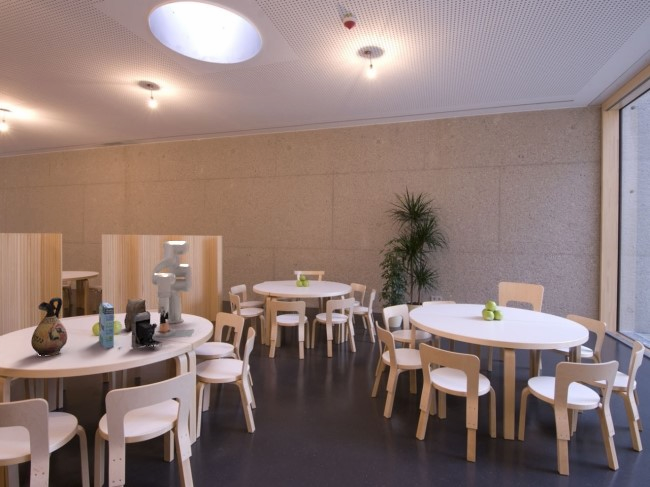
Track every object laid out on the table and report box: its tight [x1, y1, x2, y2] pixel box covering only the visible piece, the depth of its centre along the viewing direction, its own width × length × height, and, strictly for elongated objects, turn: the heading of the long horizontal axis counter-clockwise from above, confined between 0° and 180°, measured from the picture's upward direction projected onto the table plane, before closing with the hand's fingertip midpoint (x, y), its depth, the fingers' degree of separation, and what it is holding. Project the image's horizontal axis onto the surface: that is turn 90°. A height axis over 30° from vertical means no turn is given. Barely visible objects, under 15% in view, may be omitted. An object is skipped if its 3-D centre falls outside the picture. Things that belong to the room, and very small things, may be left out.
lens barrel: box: [153, 328, 177, 337], centre depth 230 cm, size 13×13×2 cm
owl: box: [124, 298, 147, 333], centre depth 249 cm, size 13×13×20 cm
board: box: [152, 328, 195, 340], centre depth 231 cm, size 18×24×2 cm
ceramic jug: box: [30, 296, 68, 357], centre depth 196 cm, size 17×15×30 cm
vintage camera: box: [131, 310, 162, 351], centre depth 206 cm, size 10×16×20 cm, turn 58°
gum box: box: [98, 302, 115, 349], centre depth 214 cm, size 20×5×23 cm, turn 39°
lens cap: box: [159, 322, 170, 333], centre depth 230 cm, size 7×5×7 cm
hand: (164, 321), depth 230 cm, fingers open, 9 cm apart
